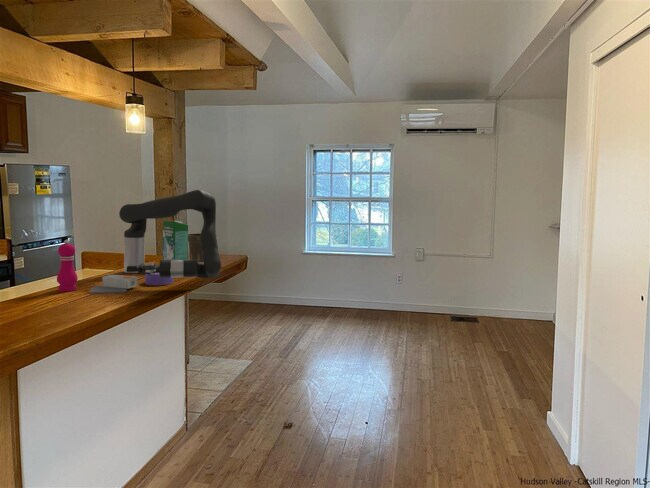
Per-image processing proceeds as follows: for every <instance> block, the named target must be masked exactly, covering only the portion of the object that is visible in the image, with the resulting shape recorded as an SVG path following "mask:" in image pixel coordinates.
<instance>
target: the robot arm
mask: <svg viewBox="0 0 650 488" xmlns="http://www.w3.org/2000/svg"><path fill="white" fill-rule="evenodd" d="M216 202H217V201H216V199H215V196H214V195H212V194H211V193H209V192H207V191H205V190H202V189H195V190H194V189H193V190H191V191H188V192H185V193H183V194H177V195H173V196H167V197H161V198H156V199H152V200H149V201H145V202H143V203H128V204H125V205H123V206H121V208H120V210H119V212H118V215H119V217H120V218H119V219H121V220H122V222H124V223H126V224H131V225H130V227H129V228H128V229H126V230H125V231H124V233H123V237H124V238H123V240H124V241H123V248H124V251H123V253H124V256H123V258H124V259H123V268H124V269H123V270H124V271H123V272H124V273H125V274H144V275H145V274H155V273H160V278H174V279H175V278H176V279H177V278H191V277H192V278H194V277H196V278H199V279H200V278H201V279H209V280H210V279H215V278H217V277H218V276H219V275H220V274H221V269H222V261H221V257H220V253H219V246H218V239H217V236H216V235H217V233H216V232H217V231H216V230H217V229H216V224H217V223H216V222H217V221H216V219H217V218H216V217H217V215H216V212H217V203H216ZM185 210H193V211H196V212H198V213H199V212H200V213H201V214H202V219H203V226H202V229H201V230H200V244H201V251H202V254H203V258H204V263H198V262H197V261H195V260H190V259H188V260H163V259H160V260H159V264H156V263H155V262H154V263H153V262H152V263H151V262H150V263H145V256H146V255H145V254H146V253H145V250H146V249H145V245H146V244H145V234H146V232H147V220H149V219H150V220H151V219H155V220H157V219H167V218H172V217H175V216H176V215H178V214H179V213H180V211H185Z"/></svg>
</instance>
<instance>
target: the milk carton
mask: <svg viewBox="0 0 650 488" xmlns="http://www.w3.org/2000/svg"><path fill="white" fill-rule="evenodd" d="M188 234H189V225H188V224H185V223H183V221H180V220H174V221H173V220H164V219H163V220H162V260H189V242H188Z"/></svg>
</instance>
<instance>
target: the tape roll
mask: <svg viewBox="0 0 650 488" xmlns="http://www.w3.org/2000/svg"><path fill="white" fill-rule="evenodd" d="M144 275H145V278H144V280H145V284H146V285H149V286H166V285H167V286H168V285H172V284H173V283H174V279H175V278H160V273H155V274H144Z"/></svg>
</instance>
